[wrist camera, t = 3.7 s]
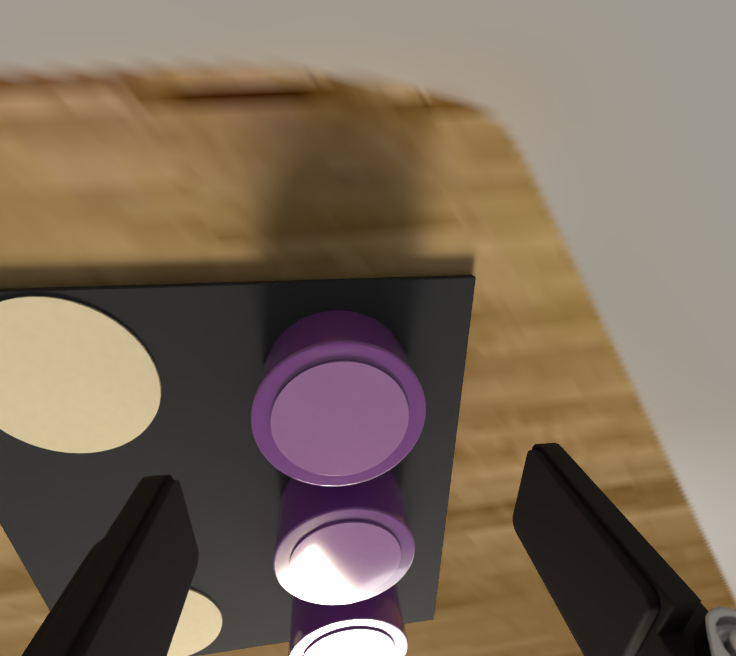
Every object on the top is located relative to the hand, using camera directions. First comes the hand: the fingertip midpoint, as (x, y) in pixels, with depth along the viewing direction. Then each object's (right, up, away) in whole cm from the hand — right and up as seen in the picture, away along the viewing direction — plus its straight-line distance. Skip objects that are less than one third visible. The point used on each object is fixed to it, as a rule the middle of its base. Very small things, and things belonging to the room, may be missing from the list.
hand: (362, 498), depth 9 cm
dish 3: (-1, -12, +12) cm, 17 cm away
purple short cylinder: (-1, +2, +6) cm, 7 cm away
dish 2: (-1, -5, +9) cm, 10 cm away
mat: (-6, -5, +9) cm, 12 cm away
